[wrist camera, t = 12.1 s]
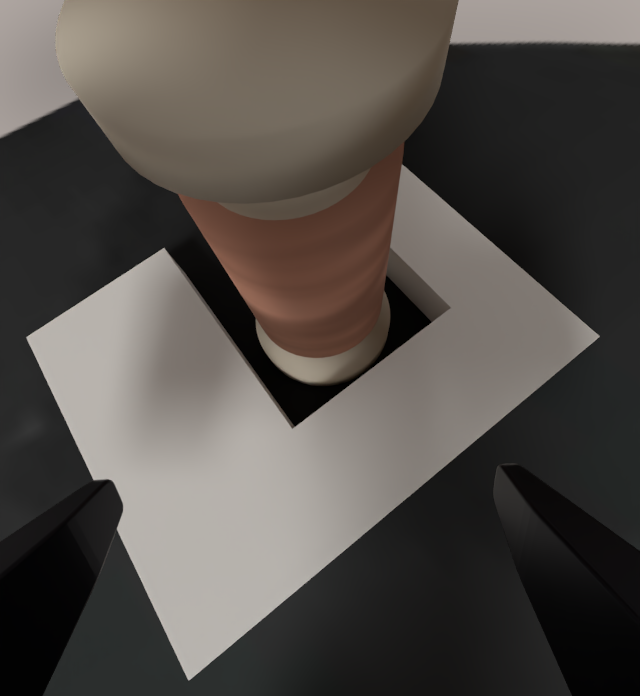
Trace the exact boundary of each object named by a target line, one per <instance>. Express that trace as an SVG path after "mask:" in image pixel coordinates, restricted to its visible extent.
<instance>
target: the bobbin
mask: <svg viewBox="0 0 640 696" xmlns="http://www.w3.org/2000/svg"><path fill="white" fill-rule="evenodd" d="M457 5H458V0H65V1H64V4H63V6H62V9H61V12H60V14H59V17H58V22H57V28H56V33H55V39H56V40H55V41H56V54H57V58H58V62H59V66H60V69H61V71H62V73H63V75H64V77H65V79H66V81H67V83H68V84H69V85H70V87H71V88H72V90H73V91H74V92H75V93H76V95H77V96H78V98H79V99H80V100H81V102H82V103H83V105H84V106H85V107H86V109H87V110H88V111H89V113H90V114H91V115H92V117H93V118H94V120H95V121H96V122H97V124H98V125H99V126H100V128H101V129H102V130H103V132H104V133H105V135H106V136H107V137H108V139H109V140H110V141H111V143H112V144H113V145H114V147H115V148H116V150H117V151H118V152H119V153H120V155H121V156H122V157H123V159H124V160H125V161H126V162H127V163H128V164H129V165H130V166H131V167H132V168H134V169H135V170H136V171H137V172H138V173H139V174H141V175H142V176H144V177H145V178H147V179H148V180H150V181H152V182H153V183H155V184H156V185H159V186H161V187H163V188H165V189H168V190H170V191H172V192H174V193H178V195H179V197H180V199H181V201H182V202H183V204H184V206H185V207H186V209H187V210H188V212H189V214H190V215H191V217H192V218H193V220H194V221H195V223H196V225H197V226H198V228H199V229H200V231H201V232H202V234H203V236H204V237H205V239H206V240H207V242H208V243H209V245H210V247H211V248H212V250H213V251H214V253H215V255H216V256H217V258H218V259H219V261H220V262H221V264H222V266H223V267H224V269H225V270H226V272H227V273H228V275H229V277H230V278H231V280H232V281H233V283H234V284H235V286H236V288H237V289H238V291H239V292H240V294H241V296H242V297H243V299H244V300H245V302H246V303H247V305H248V307H249V308H250V310H251V311H252V313H253V314H254V316H255V318H256V330H257V335H258V339H259V341H260V344H261V346H262V348H263V349H264V351H265V353H266V354H267V356H268V357H269V358H270V360H271V361H272V362H273V364H274V365H275V366H276V367H277V368H278V369H279V370H280V371H281V372H282V373H284V374H285V375H286V376H288V377H289V378H291V379H293V380H295V381H298V382H300V383H303V384H307V385H311V386H334V385H339V384H342V383H346V382H348V381H351V380H353V379H355V378H357V377H358V376H360V375H362V374H363V373H364V372H365V371H367V370H368V369H369V368H370V367H371V366H372V365H373V364H374V363H375V361H376V360H377V359H378V357H379V356H380V354H381V352H382V350H383V348H384V346H385V343H386V340H387V335H388V330H389V326H390V307H389V302H388V298H387V296H386V293H385V291H384V286H385V279H386V272H387V265H388V258H389V251H390V244H391V237H392V230H393V223H394V216H395V209H396V202H397V194H398V187H399V180H400V173H401V166H402V159H403V152H404V141H405V140H406V139H408V137H409V136H410V135H411V134H412V133H413V132H414V130H415V129H416V128H417V127H418V126H419V125H420V123H421V122H422V121H423V119H424V118H425V116H426V114H427V113H428V111H429V110H430V108H431V106H432V105H433V103H434V100H435V98H436V95H437V93H438V91H439V88H440V84H441V80H442V76H443V71H444V66H445V62H446V57H447V52H448V48H449V43H450V38H451V33H452V29H453V24H454V19H455V15H456V10H457Z"/></svg>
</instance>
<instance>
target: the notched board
mask: <svg viewBox="0 0 640 696" xmlns="http://www.w3.org/2000/svg"><path fill="white" fill-rule="evenodd" d="M386 275H387V276H388V277H389V278H390V279H391V280H392V281H393V282H394V283H395V285H396V286H397V287H398V288H399V289H400V290H401V291H402V292H403V293H404V294H405V295H406V296H407V297H408V298H409V299H410V300H411V301H412V302H413V303H414V304H415V305H416V306H417V307H418V308H419V309H420V310H421V311H422V312H423V313H424V314H425V316H426V317H427V318H428V319H429V320H430V321H431V322H432V323H430V324H429V325H428V326H427V327H425V328H424V329H423V330H421V331H420V332H419V333H417V334H416V335H415V336H413V337H412V338H411V339H410V340H408V341H407V342H406V343H404V344H403V345H402V346H400V347H399V348H398V349H396V350H395V351H394V352H393V353H391V354H390V355H389V356H387V357H386V358H385V359H383V360H382V361H381V362H379V363H378V364H377V365H376V366H374V367H373V368H372V369H370V370H369V371H368V372H366V373H365V374H364V375H362V376H361V377H360V378H359V379H357V380H356V381H355V382H353V383H352V384H351V385H349V386H348V387H347V388H345V389H344V390H343V391H342V392H340V393H339V394H338V395H336V396H335V397H334V398H332V399H331V400H330V401H328V402H327V403H326V404H325V405H323V406H322V407H321V408H319V409H318V410H317V411H315V412H314V413H313V414H311V415H310V416H309V417H308V418H306V419H305V420H304V421H302V422H301V423H300V424H298V425H297V426H296V427H294V425H293V424H292V422H291V421H290V420H289V418H288V417H287V415H286V414H285V413H284V411H283V410H282V408H281V407H280V406H279V404H278V403H277V401H276V400H275V399H274V397H273V396H272V394H271V393H270V392H269V390H268V389H267V387H266V386H265V384H264V383H263V382H262V380H261V379H260V377H259V376H258V375H257V373H256V372H255V370H254V369H253V368H252V366H251V365H250V363H249V362H248V361H247V359H246V358H245V356H244V355H243V354H242V352H241V351H240V349H239V348H238V347H237V345H236V344H235V342H234V341H233V340H232V338H231V337H230V335H229V334H228V333H227V331H226V330H225V328H224V327H223V326H222V324H221V323H220V321H219V320H218V319H217V317H216V316H215V314H214V313H213V312H212V310H211V309H210V307H209V306H208V305H207V303H206V302H205V300H204V299H203V298H202V296H201V295H200V293H199V292H198V291H197V289H196V288H195V286H194V285H193V284H192V282H191V281H190V279H189V278H188V277H187V275H186V274H185V273H184V271H183V270H182V269H181V268H180V267H179V265H178V264H177V263H176V262H175V261H174V259H173V258H172V257H171V256H170V255H169V253H168V252H167V251H166V250H165V249H164V248H163V249H162V250H160V251H159V252H157V253H156V254H154V255H152V256H151V257H149V258H148V259H146V260H145V261H143V262H142V263H140V264H139V265H137V266H136V267H134V268H132V269H131V270H129V271H128V272H126V273H125V274H123V275H122V276H120V277H119V278H117V279H115V280H114V281H112V282H111V283H109V284H108V285H106V286H105V287H103V288H102V289H100V290H98V291H97V292H95V293H94V294H92V295H91V296H89V297H88V298H86V299H85V300H83V301H82V302H80V303H78V304H77V305H75V306H74V307H72V308H71V309H69V310H68V311H66V312H65V313H63V314H61V315H60V316H58V317H57V318H55V319H54V320H52V321H51V322H49V323H48V324H46V325H45V326H43V327H41V328H40V329H38V330H37V331H35V332H34V333H32V334H31V335H29V336H28V337H26V338H27V340H28V342H29V344H30V346H31V348H32V351H33V353H34V355H35V357H36V359H37V361H38V363H39V365H40V367H41V370H42V372H43V374H44V376H45V378H46V380H47V382H48V384H49V387H50V389H51V391H52V393H53V395H54V397H55V399H56V401H57V403H58V406H59V408H60V410H61V412H62V414H63V416H64V418H65V420H66V422H67V425H68V427H69V429H70V431H71V433H72V435H73V437H74V439H75V442H76V444H77V446H78V448H79V450H80V452H81V454H82V456H83V458H84V461H85V463H86V465H87V467H88V469H89V471H90V473H91V475H92V477H93V480H101V479H109V480H112V481H113V482H114V484H115V486H116V488H117V491H118V493H119V495H120V497H121V500H122V502H123V513H122V516H121V519H120V522H119V524H118V527H117V530H118V532H119V535H120V537H121V539H122V541H123V543H124V545H125V547H126V549H127V552H128V554H129V556H130V558H131V560H132V562H133V564H134V566H135V568H136V571H137V573H138V575H139V577H140V579H141V581H142V583H143V585H144V587H145V590H146V592H147V594H148V596H149V598H150V600H151V602H152V604H153V607H154V609H155V611H156V613H157V615H158V617H159V619H160V621H161V623H162V626H163V628H164V630H165V632H166V634H167V636H168V638H169V640H170V642H171V645H172V647H173V649H174V651H175V653H176V655H177V657H178V659H179V661H180V664H181V666H182V668H183V670H184V672H185V674H186V676H187V678H188V681H189V680H190V679H191V678H193V677H194V676H195V675H196V674H197V673H199V672H200V671H201V670H202V669H203V668H205V667H206V666H207V665H208V664H209V663H210V662H212V661H213V660H214V659H215V658H216V657H218V656H219V655H220V654H221V653H222V652H224V651H225V650H226V649H227V648H228V647H230V646H231V645H232V644H233V643H234V642H236V641H237V640H238V639H239V638H240V637H242V636H243V635H244V634H245V633H246V632H248V631H249V630H250V629H251V628H252V627H253V626H255V625H256V624H257V623H258V622H259V621H261V620H262V619H263V618H264V617H265V616H267V615H268V614H269V613H270V612H271V611H273V610H274V609H275V608H276V607H277V606H279V605H280V604H281V603H282V602H283V601H285V600H286V599H287V598H288V597H289V596H291V595H292V594H293V593H294V592H295V591H296V590H298V589H299V588H300V587H301V586H302V585H304V584H305V583H306V582H307V581H308V580H310V579H311V578H312V577H313V576H314V575H316V574H317V573H318V572H319V571H320V570H322V569H323V568H324V567H325V566H326V565H328V564H329V563H330V562H331V561H332V560H334V559H335V558H336V557H337V556H338V555H339V554H341V553H342V552H343V551H344V550H345V549H347V548H348V547H349V546H350V545H351V544H353V543H354V542H355V541H356V540H357V539H359V538H360V537H361V536H362V535H363V534H365V533H366V532H367V531H368V530H369V529H371V528H372V527H373V526H374V525H375V524H377V523H378V522H379V521H380V520H381V519H382V518H384V517H385V516H386V515H387V514H388V513H390V512H391V511H392V510H393V509H394V508H396V507H397V506H398V505H399V504H400V503H402V502H403V501H404V500H405V499H406V498H408V497H409V496H410V495H411V494H412V493H414V492H415V491H416V490H417V489H418V488H420V487H421V486H422V485H423V484H424V483H425V482H427V481H428V480H429V479H430V478H431V477H433V476H434V475H435V474H436V473H437V472H439V471H440V470H441V469H442V468H443V467H445V466H446V465H447V464H448V463H449V462H451V461H452V460H453V459H454V458H455V457H457V456H458V455H459V454H460V453H461V452H463V451H464V450H465V449H466V448H467V447H468V446H470V445H471V444H472V443H473V442H474V441H476V440H477V439H478V438H479V437H480V436H482V435H483V434H484V433H485V432H486V431H488V430H489V429H490V428H491V427H492V426H494V425H495V424H496V423H497V422H498V421H500V420H501V419H502V418H503V417H504V416H506V415H507V414H508V413H509V412H510V411H511V410H513V409H514V408H515V407H516V406H517V405H519V404H520V403H521V402H522V401H523V400H525V399H526V398H527V397H528V396H529V395H531V394H532V393H533V392H534V391H535V390H537V389H538V388H539V387H540V386H541V385H543V384H544V383H545V382H546V381H547V380H549V379H550V378H551V377H552V376H553V375H554V374H556V373H557V372H558V371H559V370H560V369H562V368H563V367H564V366H565V365H566V364H568V363H569V362H570V361H571V360H572V359H574V358H575V357H576V356H577V355H578V354H580V353H581V352H582V351H583V350H584V349H586V348H587V347H588V346H589V345H590V344H592V343H593V342H594V341H595V340H596V339H597V338H599V337H600V336H599V335H597V334H596V333H595V332H594V331H593V330H592V329H591V328H589V327H588V326H587V325H586V324H585V323H584V322H583V321H581V320H580V319H579V318H578V317H577V316H576V315H575V314H573V313H572V312H571V311H570V310H569V309H568V308H566V307H565V306H564V305H563V304H562V303H561V302H560V301H558V300H557V299H556V298H555V297H554V296H553V295H552V294H550V293H549V292H548V291H547V290H546V289H545V288H544V287H542V286H541V285H540V284H539V283H538V282H537V281H535V280H534V279H533V278H532V277H531V276H530V275H529V274H527V273H526V272H525V271H524V270H523V269H522V268H521V267H519V266H518V265H517V264H516V263H515V262H514V261H513V260H511V259H510V258H509V257H508V256H507V255H506V254H505V253H503V252H502V251H501V250H500V249H499V248H498V247H496V246H495V245H494V244H493V243H492V242H491V241H490V240H488V239H487V238H486V237H485V236H484V235H483V234H482V233H480V232H479V231H478V230H477V229H476V228H475V227H474V226H472V225H471V224H470V223H469V222H468V221H467V220H465V219H464V218H463V217H462V216H461V215H460V214H459V213H457V212H456V211H455V210H454V209H453V208H452V207H451V206H449V205H448V204H447V203H446V202H445V201H444V200H443V199H441V198H440V197H439V196H438V195H437V194H436V193H434V192H433V191H432V190H431V189H430V188H429V187H428V186H426V185H425V184H424V183H423V182H422V181H421V180H420V179H418V178H417V177H416V176H415V175H414V174H413V173H412V172H410V171H409V170H408V169H407V168H406V167H405V166H403V165H402V166H401V173H400V180H399V187H398V194H397V202H396V209H395V216H394V223H393V230H392V237H391V244H390V251H389V258H388V265H387V272H386Z"/></svg>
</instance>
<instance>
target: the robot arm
mask: <svg viewBox="0 0 640 696" xmlns="http://www.w3.org/2000/svg"><path fill="white" fill-rule="evenodd" d="M493 497H494V502H495V505H496V508H497V511H498V514H499V517H500V520H501V523H502V526H503V529H504V532H505V536H506V539H507V542H508V545H509V548H510V551H511V554H512V557H513V560H514V563H515V566H516V569H517V572H518V574H519V576H520V579H521V581H522V584H523V586H524V588H525V590H526V593H527V595H528V597H529V599H530V602H531V604H532V606H533V609H534V611H535V613H536V615H537V618H538V620H539V622H540V624H541V627H542V629H543V631H544V633H545V636H546V638H547V640H548V642H549V645H550V647H551V649H552V651H553V654H554V656H555V658H556V661H557V663H558V665H559V667H560V670H561V672H562V674H563V676H564V679H565V681H566V683H567V685H568V688H569V690H570V692H571V694H572V696H640V551H639V550H637V549H636V548H635V547H633V546H632V545H631V544H629V543H628V542H626V541H625V540H624V539H622V538H621V537H619V536H618V535H617V534H615V533H614V532H613V531H611V530H610V529H608V528H607V527H606V526H604V525H603V524H601V523H600V522H599V521H597V520H596V519H594V518H593V517H592V516H590V515H589V514H588V513H586V512H585V511H583V510H582V509H581V508H579V507H578V506H576V505H575V504H574V503H572V502H571V501H569V500H568V499H567V498H565V497H564V496H563V495H561V494H560V493H558V492H557V491H556V490H554V489H553V488H551V487H550V486H549V485H547V484H546V483H544V482H543V481H542V480H540V479H539V478H538V477H536V476H535V475H533V474H532V473H531V472H529V471H528V470H526V469H525V468H524V467H522V466H521V465H519V464H515V463H513V464H500V465H498V467H497V469H496V476H495V482H494V489H493ZM122 513H123V502H122V500H121V497H120V495H119V493H118V491H117V488H116V486H115V484H114V482H113V481H112V480H109V479H101V480H93V481H91V482H89V483H88V484H86V485H85V486H83V487H82V488H80V489H79V490H77V491H76V492H74V493H73V494H71V495H70V496H68V497H67V498H65V499H64V500H62V501H61V502H59V503H58V504H56V505H55V506H53V507H52V508H50V509H49V510H47V511H46V512H44V513H43V514H41V515H40V516H38V517H37V518H35V519H34V520H32V521H31V522H29V523H28V524H26V525H25V526H23V527H22V528H20V529H19V530H17V531H16V532H14V533H13V534H11V535H10V536H8V537H7V538H5V539H4V540H2V541H1V542H0V696H43V694H44V691H45V689H46V687H47V685H48V683H49V681H50V679H51V677H52V675H53V673H54V671H55V668H56V666H57V664H58V662H59V660H60V658H61V656H62V654H63V652H64V650H65V647H66V645H67V643H68V641H69V639H70V637H71V635H72V633H73V631H74V629H75V627H76V624H77V622H78V620H79V618H80V616H81V614H82V612H83V610H84V608H85V606H86V603H87V601H88V599H89V597H90V595H91V593H92V591H93V589H94V586H95V584H96V582H97V580H98V577H99V575H100V572H101V570H102V567H103V565H104V562H105V559H106V557H107V554H108V551H109V549H110V546H111V543H112V541H113V538H114V535H115V532H116V530H117V527H118V524H119V522H120V519H121V516H122Z"/></svg>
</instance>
